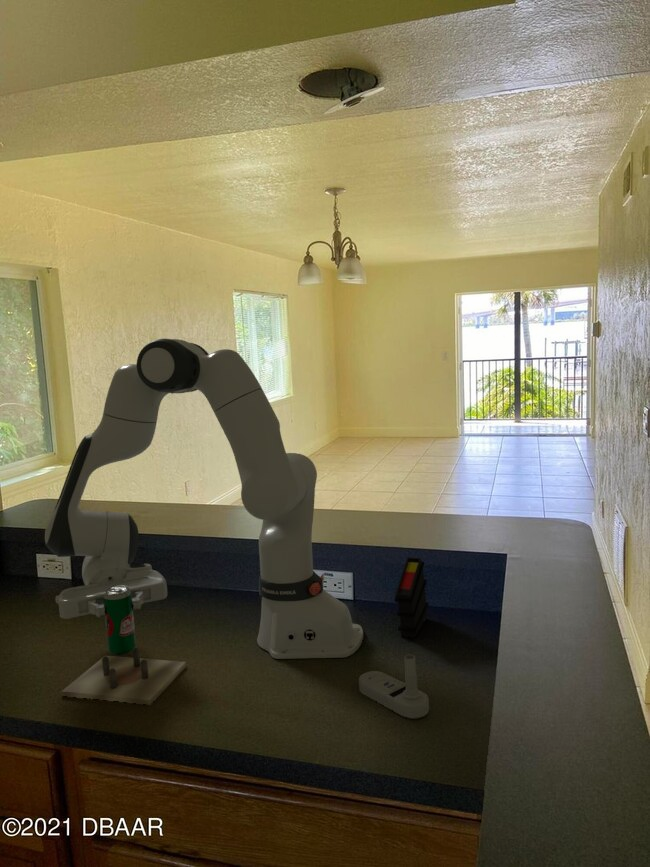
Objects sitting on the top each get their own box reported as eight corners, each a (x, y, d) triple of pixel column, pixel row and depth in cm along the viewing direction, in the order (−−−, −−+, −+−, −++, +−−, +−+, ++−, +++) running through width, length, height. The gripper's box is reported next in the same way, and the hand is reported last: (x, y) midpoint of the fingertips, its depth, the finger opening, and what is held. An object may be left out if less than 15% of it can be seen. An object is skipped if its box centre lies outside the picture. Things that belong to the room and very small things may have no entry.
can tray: (186, 666, 128) (184, 644, 128) (150, 705, 115) (148, 680, 114) (105, 660, 133) (103, 638, 132) (62, 696, 119) (59, 672, 119)
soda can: (126, 657, 120) (121, 595, 118) (102, 655, 121) (97, 593, 120) (141, 645, 125) (136, 585, 123) (118, 642, 126) (112, 583, 124)
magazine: (431, 605, 148) (423, 557, 140) (419, 653, 137) (409, 603, 130) (415, 604, 149) (406, 556, 141) (402, 650, 139) (391, 601, 131)
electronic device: (372, 630, 119) (432, 656, 107) (375, 681, 120) (436, 712, 108) (349, 639, 116) (409, 667, 104) (353, 691, 117) (413, 725, 105)
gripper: (53, 580, 129) (57, 604, 116) (157, 562, 137) (171, 582, 125) (56, 610, 129) (61, 637, 117) (159, 590, 138) (174, 613, 126)
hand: (119, 609), depth 121 cm, fingers closed on soda can, 5 cm apart
